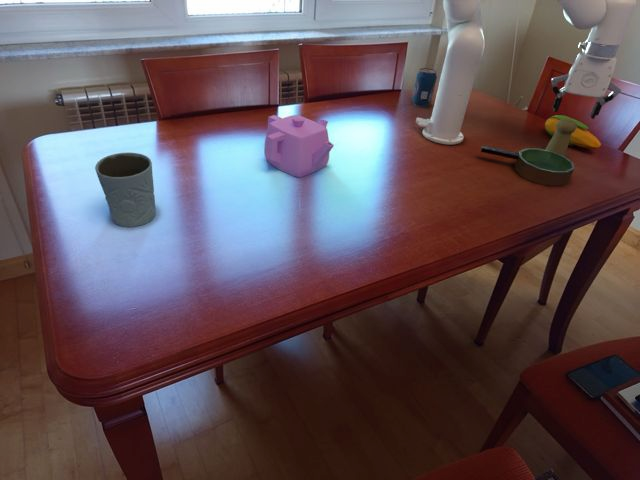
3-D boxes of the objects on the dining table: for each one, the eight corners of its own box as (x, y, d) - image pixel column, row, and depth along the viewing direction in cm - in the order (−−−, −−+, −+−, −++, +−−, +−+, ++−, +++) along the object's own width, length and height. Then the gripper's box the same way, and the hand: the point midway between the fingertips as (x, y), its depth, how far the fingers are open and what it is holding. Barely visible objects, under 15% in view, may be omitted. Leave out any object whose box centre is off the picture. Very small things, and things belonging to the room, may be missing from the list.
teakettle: (265, 147, 121) (265, 103, 113) (326, 150, 122) (330, 107, 115) (262, 177, 107) (262, 130, 100) (330, 180, 109) (335, 133, 101)
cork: (567, 156, 131) (583, 121, 125) (560, 162, 128) (576, 126, 121) (547, 149, 134) (561, 114, 128) (540, 154, 131) (554, 119, 124)
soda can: (410, 100, 162) (417, 66, 155) (429, 102, 162) (436, 68, 155) (411, 106, 157) (418, 72, 149) (431, 108, 156) (439, 74, 149)
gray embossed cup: (137, 198, 96) (127, 147, 89) (171, 213, 92) (163, 162, 85) (97, 218, 89) (82, 165, 81) (132, 236, 85) (119, 182, 78)
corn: (559, 107, 143) (615, 131, 129) (551, 129, 148) (604, 154, 134) (543, 111, 141) (598, 136, 127) (536, 133, 146) (588, 159, 132)
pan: (475, 169, 120) (480, 155, 117) (480, 150, 130) (484, 136, 128) (569, 190, 114) (576, 176, 111) (565, 168, 124) (572, 155, 122)
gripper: (565, 48, 112) (541, 112, 123) (640, 58, 108) (608, 124, 118) (563, 42, 118) (540, 104, 128) (634, 51, 114) (605, 115, 124)
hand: (573, 114), depth 123 cm, fingers open, 9 cm apart
